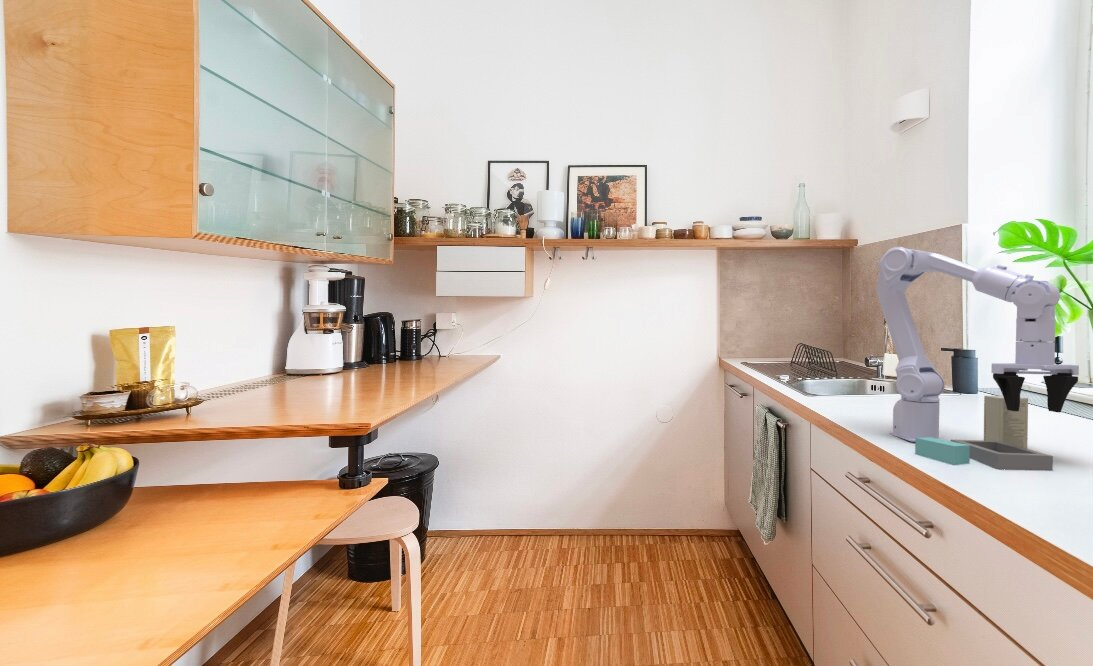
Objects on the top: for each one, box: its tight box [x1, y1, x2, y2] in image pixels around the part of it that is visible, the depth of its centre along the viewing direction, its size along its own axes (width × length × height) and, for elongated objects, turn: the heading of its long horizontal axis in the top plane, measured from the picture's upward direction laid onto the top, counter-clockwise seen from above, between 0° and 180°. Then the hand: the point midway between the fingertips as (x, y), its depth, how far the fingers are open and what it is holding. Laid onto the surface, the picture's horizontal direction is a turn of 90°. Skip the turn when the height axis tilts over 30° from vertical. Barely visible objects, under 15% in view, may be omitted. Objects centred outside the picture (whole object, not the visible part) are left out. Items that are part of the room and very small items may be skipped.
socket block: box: [949, 439, 1054, 472], centre depth 107 cm, size 14×10×3 cm
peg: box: [914, 437, 971, 466], centre depth 108 cm, size 8×4×4 cm, turn 16°
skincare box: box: [983, 395, 1029, 449], centre depth 116 cm, size 6×4×12 cm
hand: (1033, 411), depth 106 cm, fingers open, 7 cm apart
